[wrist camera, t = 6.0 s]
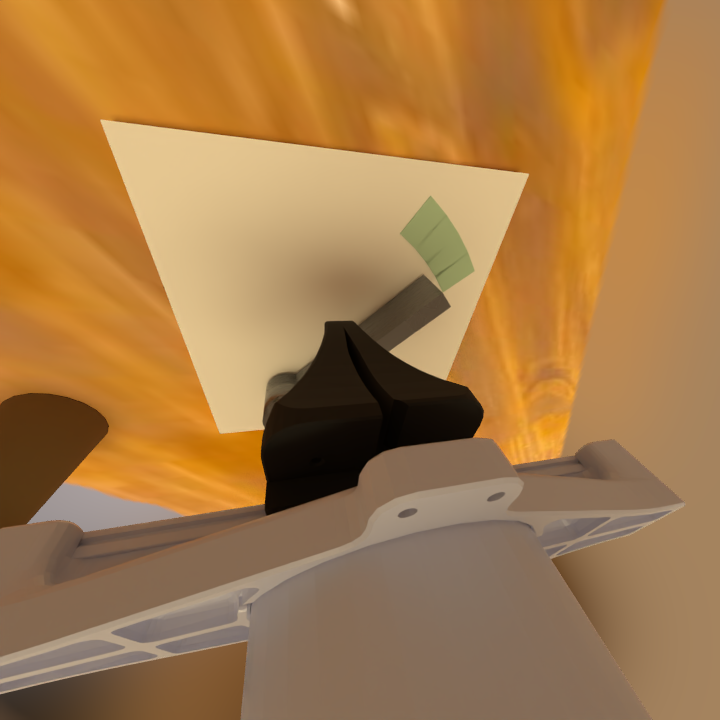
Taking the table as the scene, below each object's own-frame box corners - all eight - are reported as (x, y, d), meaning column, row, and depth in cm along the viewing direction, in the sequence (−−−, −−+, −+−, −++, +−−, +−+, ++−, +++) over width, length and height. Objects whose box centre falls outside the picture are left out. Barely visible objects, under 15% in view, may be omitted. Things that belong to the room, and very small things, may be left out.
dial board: (428, 405, 27) (433, 413, 27) (222, 424, 23) (219, 434, 22) (517, 172, 15) (530, 174, 14) (113, 121, 11) (98, 119, 10)
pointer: (288, 408, 22) (288, 440, 19) (257, 390, 20) (252, 423, 17) (437, 297, 18) (460, 321, 16) (416, 262, 16) (438, 282, 14)
